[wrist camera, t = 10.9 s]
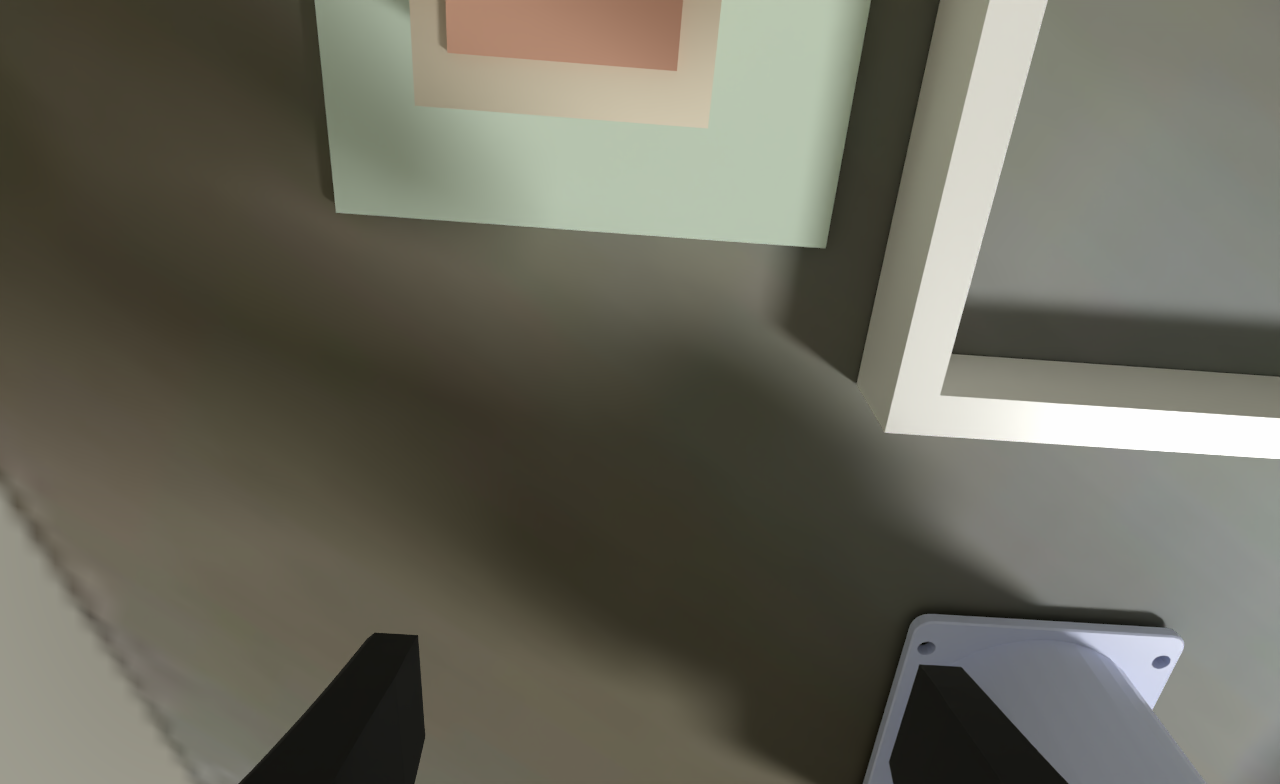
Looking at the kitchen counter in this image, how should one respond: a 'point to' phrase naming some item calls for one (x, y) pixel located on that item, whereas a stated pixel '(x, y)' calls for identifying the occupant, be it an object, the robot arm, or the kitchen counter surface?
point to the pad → (604, 136)
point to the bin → (943, 268)
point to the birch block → (568, 58)
